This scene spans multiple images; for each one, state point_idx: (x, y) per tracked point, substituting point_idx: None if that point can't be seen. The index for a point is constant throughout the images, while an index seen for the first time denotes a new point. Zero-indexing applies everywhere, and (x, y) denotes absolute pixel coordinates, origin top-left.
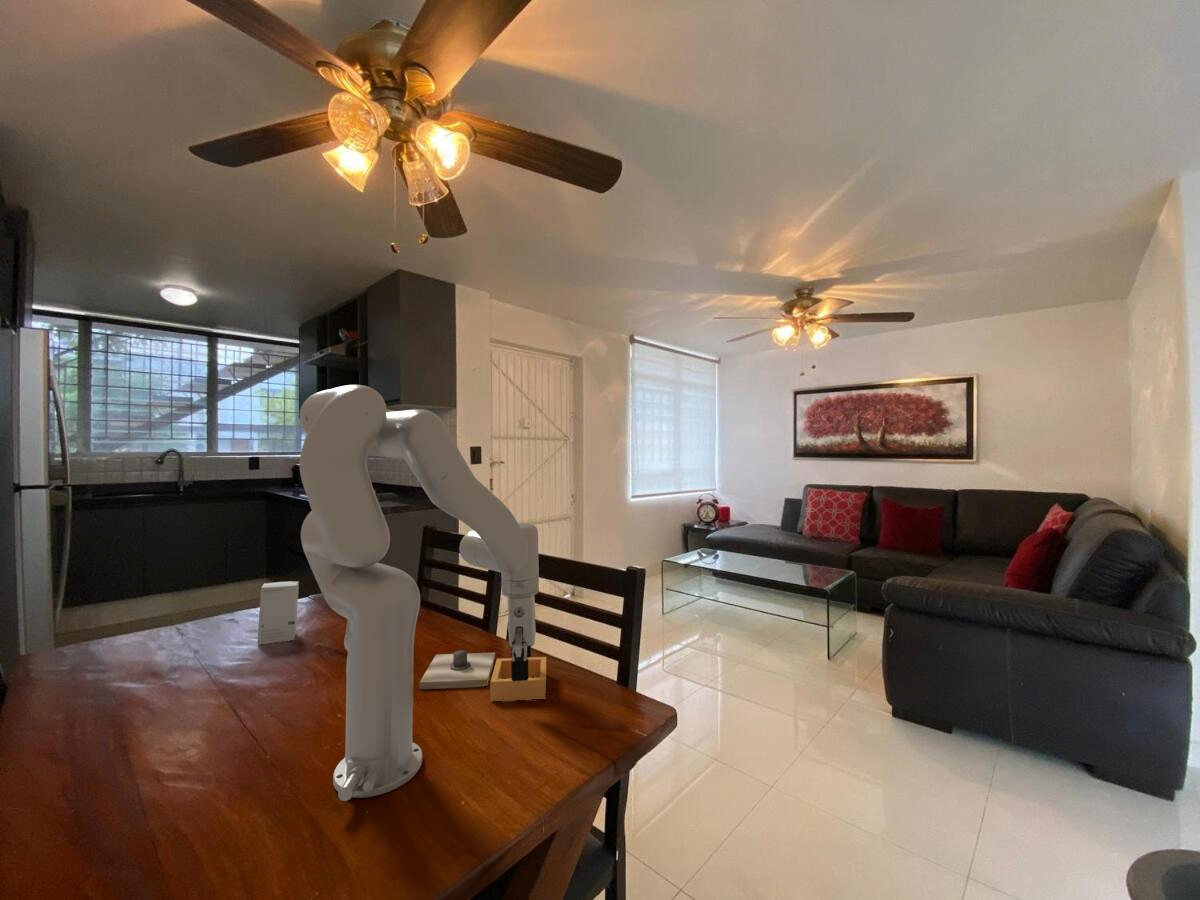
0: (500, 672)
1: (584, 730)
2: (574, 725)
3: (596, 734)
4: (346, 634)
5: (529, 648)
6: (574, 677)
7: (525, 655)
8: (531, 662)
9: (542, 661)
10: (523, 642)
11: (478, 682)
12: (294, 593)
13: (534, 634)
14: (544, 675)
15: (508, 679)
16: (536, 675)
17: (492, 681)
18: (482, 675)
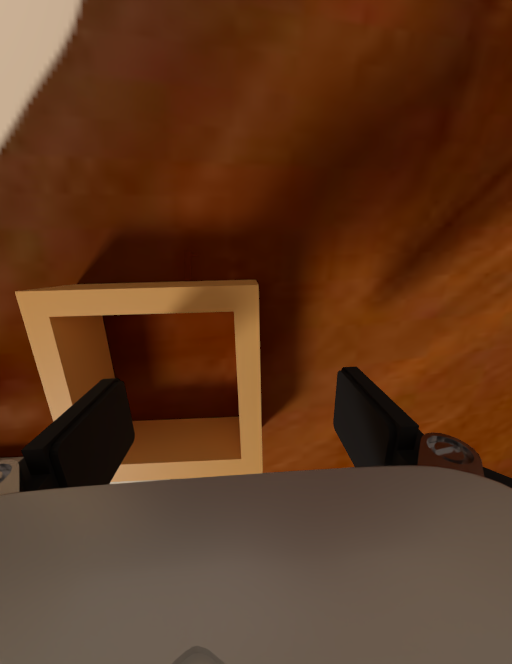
0: (143, 444)
1: (458, 141)
2: (422, 177)
3: (491, 95)
4: None
5: (95, 409)
6: (82, 164)
7: (478, 472)
8: (68, 353)
9: (71, 307)
10: (79, 474)
11: (172, 479)
12: None
13: (420, 584)
14: (218, 291)
15: (247, 424)
16: (98, 319)
17: (260, 469)
18: (141, 481)
